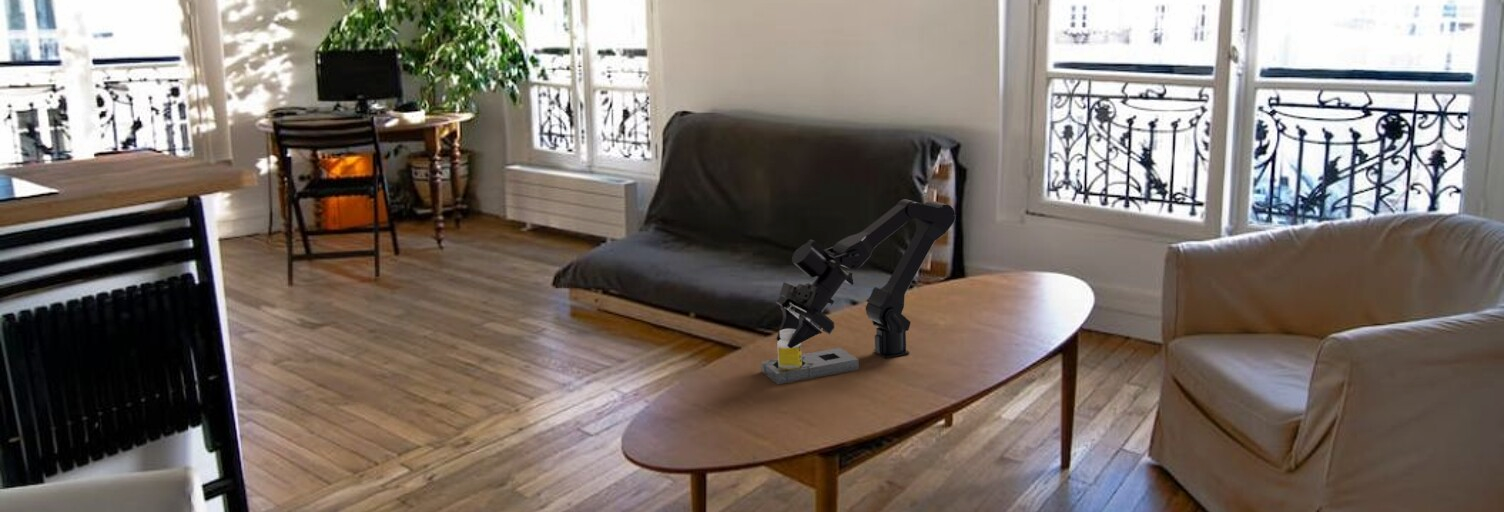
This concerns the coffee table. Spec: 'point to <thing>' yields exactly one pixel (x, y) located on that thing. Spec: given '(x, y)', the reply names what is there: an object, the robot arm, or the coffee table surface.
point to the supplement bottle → (788, 351)
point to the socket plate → (812, 366)
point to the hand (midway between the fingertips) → (783, 343)
